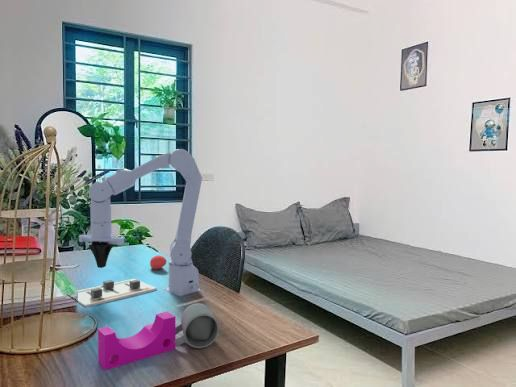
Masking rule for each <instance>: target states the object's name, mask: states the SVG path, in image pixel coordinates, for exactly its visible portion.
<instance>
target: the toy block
mask: <svg viewBox="0 0 516 387" xmlns="http://www.w3.org/2000/svg"><path fill="white" fill-rule="evenodd" d="M175 327H176V315H173V314H172V313H171V312H169V311H164V312H160V313H156V314H155V318H154V320H153V323H150V324H146V325H144V326H143V327H142V328H141V330H139V332H136V333H135V334H134V335H131V336H128V337H125V338H120V337H119V338H118V337H117V334H116V332H115V331H114V330H113V329H112V328H111V327H110V326H105V327H100V328H98V329H97V352H98V353H97V354H98V357H97V358H98V359H97V360H98V361H97V362H98V364H99V365H100V366H101V367H102V368H103V370H104V371H108V370H111V369H114V368H118V367H120V366H125V365H127V364H131V363H134V362H137V361H140V360H144V359H146V358H150V357H153V356H154V357H155V356H157V355H160V354H164V353H167V352H170V351H174V350H176V347H177V346H176V345H175V342H174V340H175V339H177V338H176V335H175Z"/></svg>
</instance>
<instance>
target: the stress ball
mask: <svg viewBox="0 0 516 387" xmlns="http://www.w3.org/2000/svg"><path fill="white" fill-rule="evenodd" d="M166 264H167V259H166V257H164V256H162V255H155V256H153V257H152V258H151V259H150V261H149V266H150V268H151V269H152V270H160V269H162V268H163V267H165V266H166Z"/></svg>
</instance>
